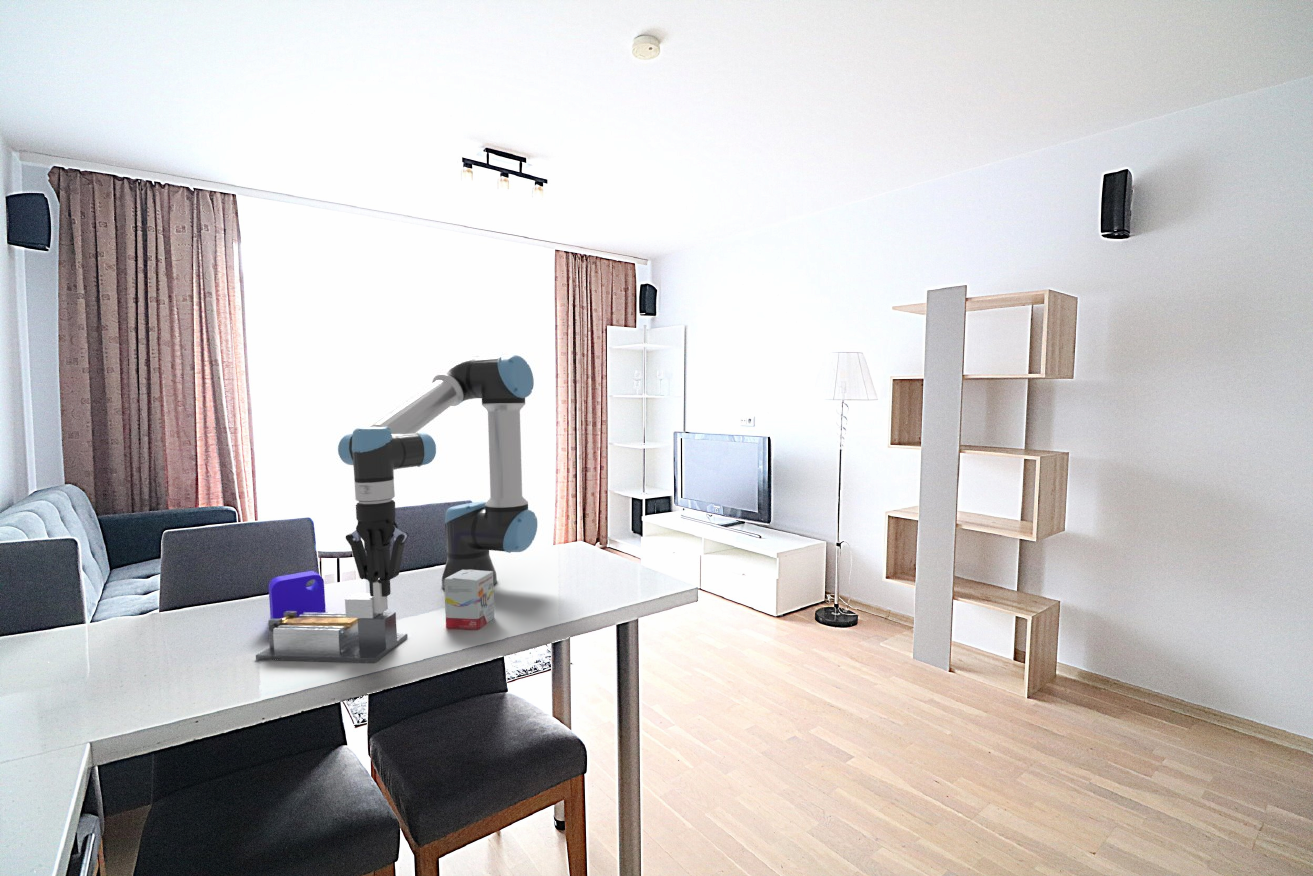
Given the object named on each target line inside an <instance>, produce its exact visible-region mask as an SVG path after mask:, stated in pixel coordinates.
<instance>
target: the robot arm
mask: <svg viewBox="0 0 1313 876" xmlns="http://www.w3.org/2000/svg"><path fill="white" fill-rule="evenodd" d="M534 385H535V380H534V374H533V371H532V369H531V366H530V364H529V363H528V362H527V361H526V359H524V358H523V357H522V356H520V355H518V354H517V355H516V354H496V355H486V356H485V355H484V356H478V355H477V356H471V357H470V356H469V357H468V358H465V359H462V360H459V361H457V363H454V364H452V365H451V366H449V367H447V368H446V369H444V370H443V371H441V372H440V373H438V374H436V375H435V376H434V378H433V380H432V382H431V384H429V385H428V386H426V387H425V388H423V389H422V390H421V391H420V392H418V393H417V394H415V395H414V396H412V397H411V398H410V399H408V400H406V401H405V402H404V403H403V404H401V405H399V406H398V407H396V408H395V409H393V411H390V412H389V413H387V414H386V415H385V416H383V417H382V418H381V419H380V420H378V421H377V422H374V423H373V424H372V425H371V426H369V427H358V428H355V429H354V430H353V431H352V433H348V434H346V435H344V436H343V437H341V439H340V441H339V442H338V446H337V453H338V456H339V458H340V460H341V461H342V462H343V464H346V465H349V466H352V467H353V475H354V477H353V478H354V495H355V496H354V498H355V501H356V502H357V503H356V504H355V516H356V519H355V520H356V521H357V525H356V526H355V530H354V531H352V532H351V533H349V534H345V541H347V542H348V544H349V545H350V549H351V552H352V555H353V558H354V563H355V565H356V570H357V572H358V577H359V579H361V580H366V581H368V583H369V593H370V595H371V597H374V613H383V612H387V611H388V610H389V604H388V602H389V601H388V596H390V595H391V592H392V591H391V580H393V579H395V578H396V577H398V576H399V575H400V572H401V571H400V570H401V566H402V565H401V563H402V558H403V553H404V549H405V543H406V541H407V540H408V538H409V537H410V534H409V532H408V531H404V532H403V531H401V529H399V528H398V527H399V525H398V524H397V523H396V515H397V514H396V513H397V512H396V502H395V500H394V498H395V496H396V493H395V482H394V481H395V479H394V478H395V477H394V475H395V473H394V471H395V470H399V469H405V468H406V469H407V468H414V467H417V468H420V467H421V466H425V465H428V464H430V463H432V461H434V459H435V458H436V454H437V444H436V442H435V440H434V438H433V436H431V435H430V434H428V433H425V432H419V431H420V430H421V429H423V428H424V427H425V426H426V425H428V424H429V423H430V422H432V421H433V420H434V419H435V418H438V416H439V415H441V414H442V413H443V412H445V411H446V410H448V409H449V408H450V407H455V406H459V405H460V404H461V403H463V402H464V401H468V400H473V399H481V406H482V407H484V408H485V409H486V411H487V422H488V423H487V425H488V428H487V430H488V457H489V459H488V460H489V463H488V464H489V489H490V490H489V492H490V497H489V499H488V500H487V501H476V502H470V503H469V502H467V503H464V504H458V505H453V506H451V507H449V508H447V510H445V521H444V529H445V543H446V563H445V566H444V569H443V573H442V576H441V588H442V589H444V590H445V585H444V580H445V578H447V577H449V576H451V575H453V574H455V573H457V572H459V571H461V570H480V571H493V585H495V584H496V583H498V582H497V578H498V577H497V572H496V569H495V566H494V564H493V561H492V558H491V556H490V551H494V552H495V551H496V552H505V553H509V554H510V553H521V552H524V551H526V550H527V549H528V548H530V546H531V545H532V543H533V541H534V540H535V538H536V536H537V535H536V534H537V532H538V517H537V515H536V513H535V512H534V511H533V510H530V509H529V502H528V500H527V499H526V498H525V497H524V496H523V481H522V480H523V478H522V477H523V475H522V473H523V472H522V443H521V441H522V438H521V409H523V408H524V406H525V405H526V398H527V397H530V395H531V394H532V393H533V390H534ZM392 539H393V545H391V540H392ZM391 546H392V550H390V547H391ZM390 551H391V552H390Z"/></svg>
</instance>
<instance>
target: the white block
mask: <svg viewBox="0 0 1313 876" xmlns="http://www.w3.org/2000/svg"><path fill="white" fill-rule="evenodd" d="M344 606H345V607H344V608H345V609H344V610H345V613H346V618H374V617H376V616H378V615H379V614H381V613H374V597H371V595H370V592H368V593H366V592H363V593H362V592H356V593H354V594H352V595H350V596H348V597H346V598H344Z"/></svg>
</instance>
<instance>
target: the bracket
mask: <svg viewBox="0 0 1313 876" xmlns="http://www.w3.org/2000/svg"><path fill="white" fill-rule="evenodd" d="M312 580H314V583H313V584H312V585H310V586H307V584H308V583H309V582H310V581H312ZM325 592H326V591H325V581H324V578H323V577H322V576H321V575H320V574H319V573H318V572H316V571H315V570H314V571H313V570H307V571H304V572H303V571H302V572H297V573H296V572H295V573H292V574H285V575H279V576H275V577H274V578H272V579H271V580H270V582H269V583H268V600H269V613H270V614H269V616H270V619H280V618H284V612H286V611H297V618H299V615H303V613H327V612H326V611H327V609H326V593H325Z"/></svg>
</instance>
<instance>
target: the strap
mask: <svg viewBox="0 0 1313 876" xmlns="http://www.w3.org/2000/svg"><path fill="white" fill-rule="evenodd" d="M280 619H282V625H289V626H342V627H352V626H354V625H356V624H357V623H358V620H357V619H358V618H291V617H290V616H286V617H284V618H280Z"/></svg>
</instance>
